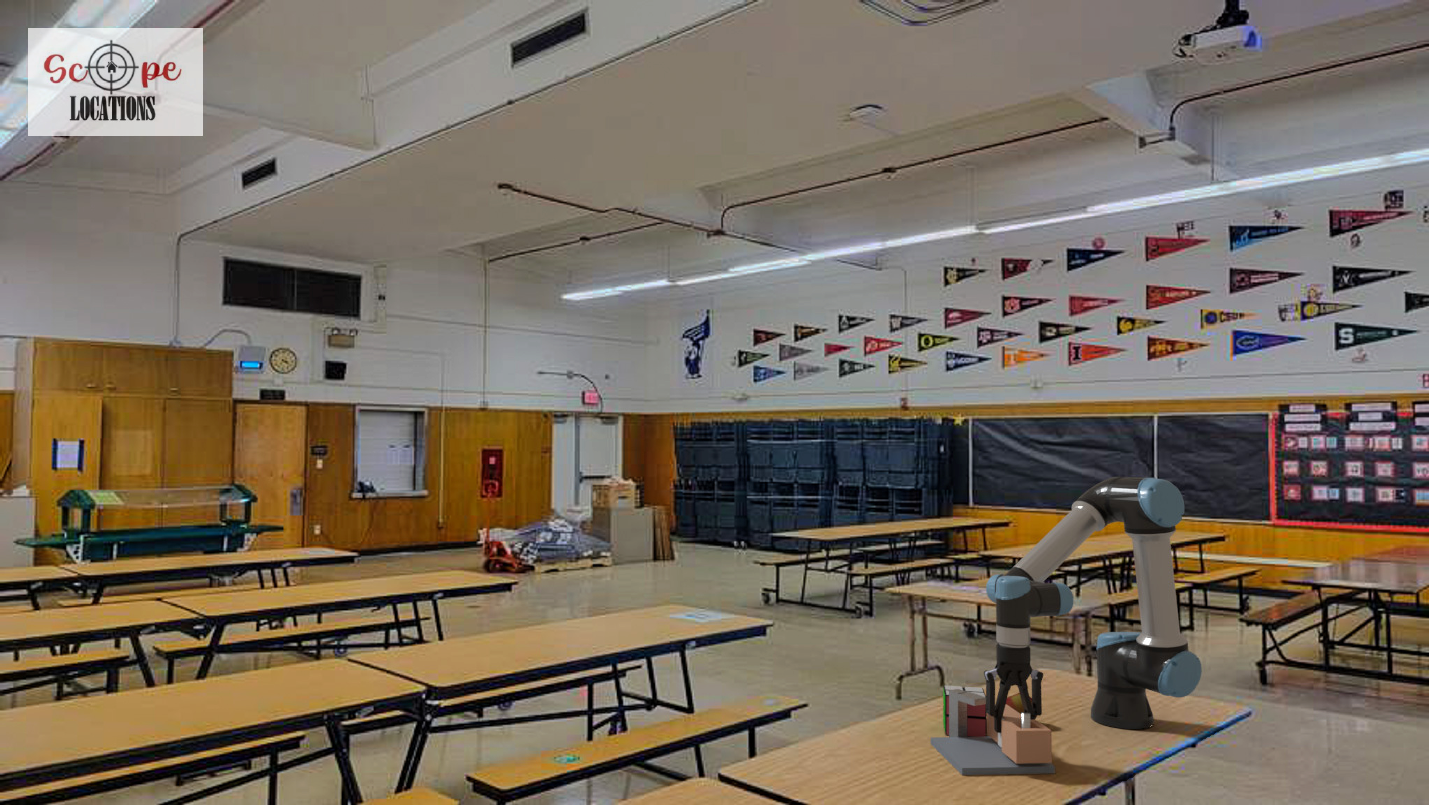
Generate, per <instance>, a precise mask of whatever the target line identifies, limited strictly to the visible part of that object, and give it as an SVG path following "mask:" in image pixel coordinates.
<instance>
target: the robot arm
mask: <svg viewBox="0 0 1429 805" xmlns="http://www.w3.org/2000/svg"><path fill="white" fill-rule="evenodd" d="M1183 515H1185V501H1184V498H1183V495H1182V493H1181V491H1180V489H1179V488H1178V487H1177V486H1175V485H1174V484H1173V483H1172V482H1171V481H1169V480H1166V479H1163V478H1155V477H1129V476H1114V477H1109V478H1107V479H1105V480H1103V481H1100V482H1099V483H1096V484H1095V485H1094V486H1092V487H1090V488H1089V489H1088V490H1086V491H1085V492H1084V493H1082V494H1081V495H1080V496H1079V497H1078V498H1077V499H1076V500H1075V501H1073V503H1072V505H1071V510H1070V511H1069V512H1068V513H1067V515H1065V516H1064V517H1063V518H1062V519H1061V520H1060V521H1059V522H1058V523H1057V524H1056V525H1055V526H1054V527H1052V529H1051V530H1049V532H1047V534H1045V535H1044V537H1043V538H1042V539H1040V540H1039V542H1038V543H1036V544H1035V545H1034V546H1033V548H1031V549H1030V550H1029V551H1028V552H1027V553H1025V555H1024V556H1023V557H1022V558H1021V559H1020V560H1019V561H1018V562H1017V563H1016V564H1015V565H1014V566H1013V567H1012V568H1011V569H1010V570H1008V571H1007V572H1006V573H1005V574H1004V573H1000V574H998V573H997V574H993V575H991V577H989V579H988V580H987V582H986V587H985V590H986V591H985V592H986V595H987V597H988V599H989V600H990V602H992V603H994V604H995V612H996V613H995V617H996V621H995V623H996V624H995V625H996V627H995V628H996V629H995V630H996V631H995V633H996V634H995V636H996V637H995V638H996V642H997V644H996V647H995V648H996V651H995V652H996V655H995V658H996V664H995V666H994V669H991V670H984V671H983V675H984V679H985V695H986V713H988V714H989V715H990V716H993V717H994V729H995V731H996V732H997V733H998V745H999V746H1000V747H1001V748H1002V722H1001V720H1006V719H1004V718H1003V713H1004V709H1005V705H1006V700H1007V698H1008V697H1009V692H1010V691H1011V687H1013V686H1017V689H1018V691H1019V692H1018V693H1020V696H1021V700H1022V704H1023V708H1024V712H1028V713H1030V718H1031V720H1034V719H1035V718H1036V719H1037V717H1036V716H1041V715H1042V714H1043V711H1042V710H1043V706H1042V704H1043V703H1042V702H1043V701H1042V681H1043V678H1044V673H1043V672H1042V671H1040V670H1038V669H1033V667H1032V666H1031V660H1032V659H1031V647H1030V644H1031V618H1038V617H1059V616H1063V615H1064V616H1065V615H1067V614H1069V613H1070V612H1071V611H1072V610H1073V607H1074V595H1073V592H1072V590H1071V589H1070V587H1069V586H1068V585H1067V584H1065V583H1062V582H1051V583H1049V582H1047V583H1046V582H1045V581H1046V580H1047V578H1049V577H1050V576H1051V575H1052V574H1053V573H1054V572H1055V571H1056V570H1057V569H1058V568H1059V567H1060V566H1061V565H1063V563H1064V562H1065V561H1066V560H1067V559H1068V558H1069V557H1070V556H1071V555H1072V554H1073V553H1074V552H1076V550H1077V549H1078V548H1079V547H1080V546H1081V545H1082V544H1083V543H1084V542H1085V541H1086V540H1087V539H1089V537H1090V536H1092V534H1093V533H1094V532H1101V531H1102V530H1104V529H1105V528H1106V527H1107V526H1108V525H1110V524H1113V523H1118V522H1119V523H1123V527H1124V528H1123V529H1124V534H1126V535H1127V536H1128V537H1129V538H1130V539H1131V540H1132V551H1133V559H1134V570H1135V577H1136V589H1137V598H1138V607H1139V615H1140V616H1139V617H1140V624H1141V625H1140V627H1141V632H1136V631H1135V632H1134V631H1111V632H1110V631H1109V632H1102V633H1100V634H1098V637H1097V642H1096V643H1097V644H1096V669H1097V671H1096V672H1097V673H1096V675H1097V677H1096V678H1097V688H1096V693H1095V695H1094V697H1093V702H1092V704H1091V707H1090V718H1091V720H1093V721H1094V722H1096V723H1098V724H1100V725H1104V726H1108V727H1113V728H1116V729H1117V728H1118V729H1124V730H1125V729H1126V730H1143V729H1142V728H1146V729H1149V728H1148V727H1150V726H1151V725H1153V723H1154V724H1155V722H1154V720H1155V719H1154V713H1153V711H1152V708H1151V705H1150V703H1149V699H1148V697H1147V690H1148V691H1151V692H1154V693H1157V694H1161V695H1163V696H1166V697H1173V698H1177V699H1179V698H1180V699H1181V698H1185V697H1187V696H1189V695H1191V694H1192V693H1193V692H1194V691H1195V690H1196V688H1197V686H1198V685H1199V683H1200V681H1201V678H1202V672H1203V671H1202V670H1203V668H1202V663H1201V660H1200V658H1199V657H1198V656H1197V655H1196V654H1195V653H1194V652H1193V651H1190V650H1189V642H1188V638H1187V637H1185V636H1184V635H1183V634H1182V633H1181V630H1180V621H1179V612H1178V603H1177V595H1176V594H1177V593H1176V592H1177V591H1176V584H1175V574H1174V565H1173V564H1174V563H1173V556H1172V555H1173V554H1172V546H1171V537H1172V536H1173V535H1174V534H1175V533H1176V532H1177V527H1176V525H1179V524H1180V522H1181V521H1182V520H1183V517H1182V516H1183ZM997 676H998V678H999V679H1000V680H999V685H998V686H999V688H998V693H997V697H996V682H995V681H996V680H997ZM1030 677H1031V696H1030V693H1029V686H1028V683H1027V680H1028V679H1029V678H1030ZM1029 696H1030V697H1031V698H1032V704H1031V701H1030V697H1029ZM1036 719H1035V720H1036ZM1153 726H1154V725H1153ZM1150 728H1151V727H1150Z"/></svg>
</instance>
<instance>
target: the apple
mask: <svg viewBox="0 0 1429 805" xmlns="http://www.w3.org/2000/svg"><path fill="white" fill-rule="evenodd" d="M1029 697H1030V701H1031V704H1032V696H1030V695H1029ZM1006 704H1007V705H1008V706H1010V707H1011V708H1013V709H1014V710H1015V711H1017V712H1018V713H1020V714H1021V712H1024V708H1023V704H1022V700H1021V696H1020V692H1018V693H1015V694H1013V695H1010V696H1009V695H1008V696H1007V700H1006ZM1034 720H1037V716H1036V718H1035V719H1034Z"/></svg>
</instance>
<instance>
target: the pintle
mask: <svg viewBox="0 0 1429 805" xmlns="http://www.w3.org/2000/svg"><path fill="white" fill-rule="evenodd" d="M1021 728H1031V718H1030V713H1028V712H1021Z"/></svg>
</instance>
